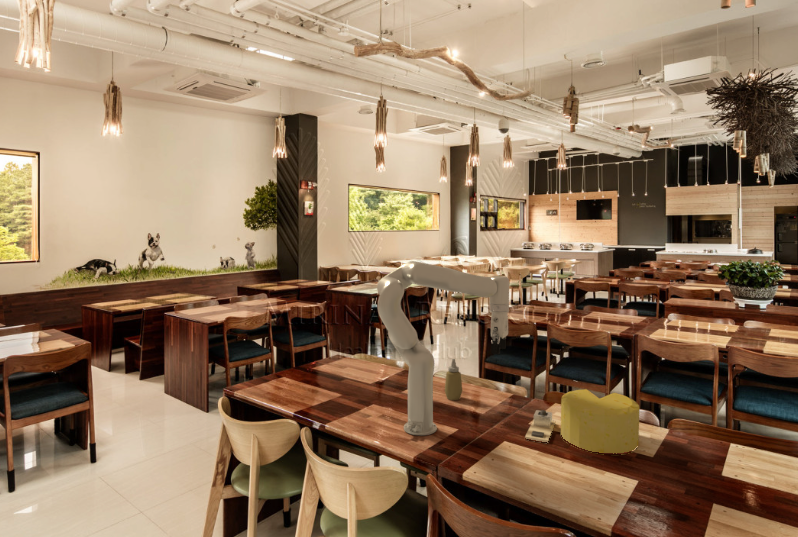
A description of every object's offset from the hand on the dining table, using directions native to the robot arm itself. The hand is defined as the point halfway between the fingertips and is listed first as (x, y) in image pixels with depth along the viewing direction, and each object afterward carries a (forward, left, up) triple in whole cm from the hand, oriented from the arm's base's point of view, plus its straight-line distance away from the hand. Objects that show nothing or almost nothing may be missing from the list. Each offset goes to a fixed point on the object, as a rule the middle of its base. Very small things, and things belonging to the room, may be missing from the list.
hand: (498, 351), depth 191 cm
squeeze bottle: (+19, +25, -28) cm, 42 cm away
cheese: (-1, -37, -29) cm, 47 cm away
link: (+2, -17, -27) cm, 32 cm away
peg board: (-3, -17, -28) cm, 33 cm away
